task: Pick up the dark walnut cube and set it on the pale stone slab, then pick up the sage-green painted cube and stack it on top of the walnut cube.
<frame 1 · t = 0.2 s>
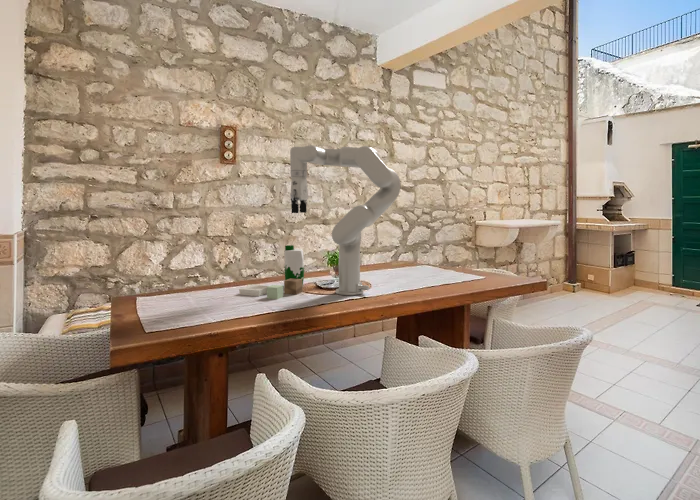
hand: (299, 212, 187), 36 cm above the table, tool pointing down, fingers open, 9 cm apart
milk carton: (294, 286, 198), on the table
sage block: (275, 297, 174), on the table
walnut block: (293, 293, 184), on the table
stone base: (255, 293, 183), on the table
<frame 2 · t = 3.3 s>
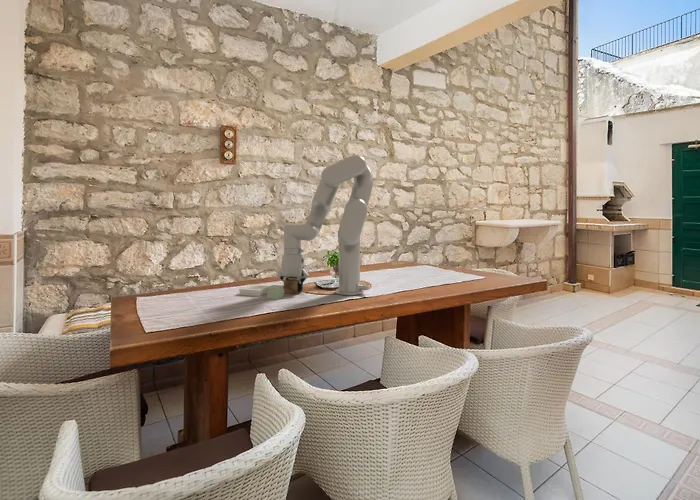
hand: (293, 290, 184), 1 cm above the table, tool pointing down, fingers closed on walnut block, 6 cm apart
walnut block: (293, 292, 184), on the table, touching gripper
everything else where it was.
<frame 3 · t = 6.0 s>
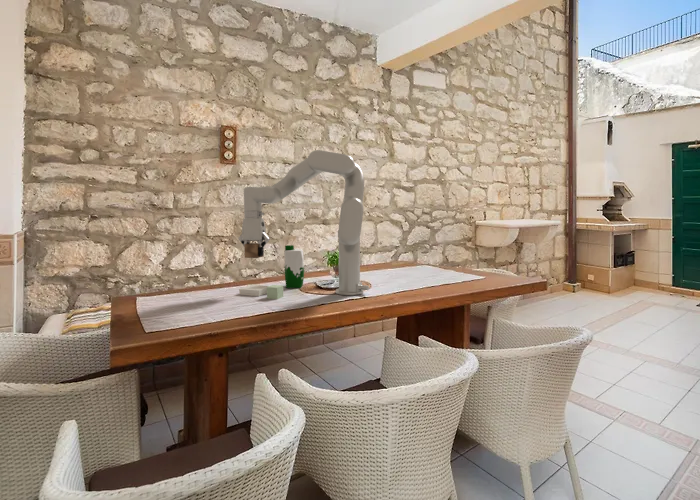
hand: (254, 255, 182), 17 cm above the table, tool pointing down, fingers closed on walnut block, 6 cm apart
walnut block: (254, 257, 182), point 16 cm above the table, touching gripper
everything else where it was.
when the fingers open (4 cm above the table, at t = 8.8 s): walnut block stays where it is, resting on stone base.
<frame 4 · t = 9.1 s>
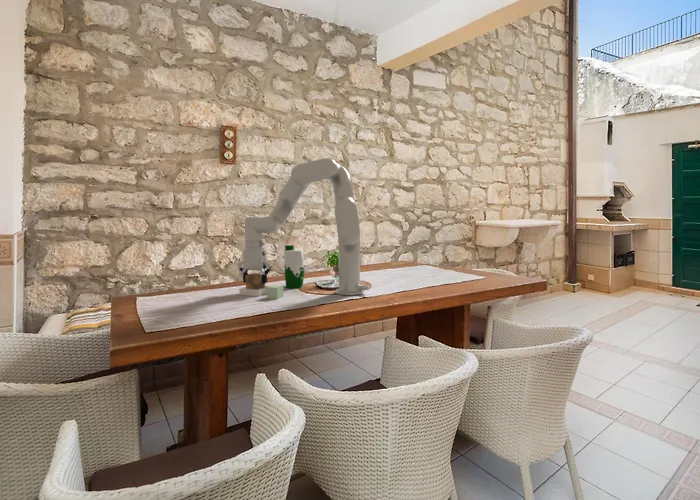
hand: (255, 282, 183), 5 cm above the table, tool pointing down, fingers open, 9 cm apart
walnut block: (255, 287, 183), point 2 cm above the table, touching stone base
everything else where it was.
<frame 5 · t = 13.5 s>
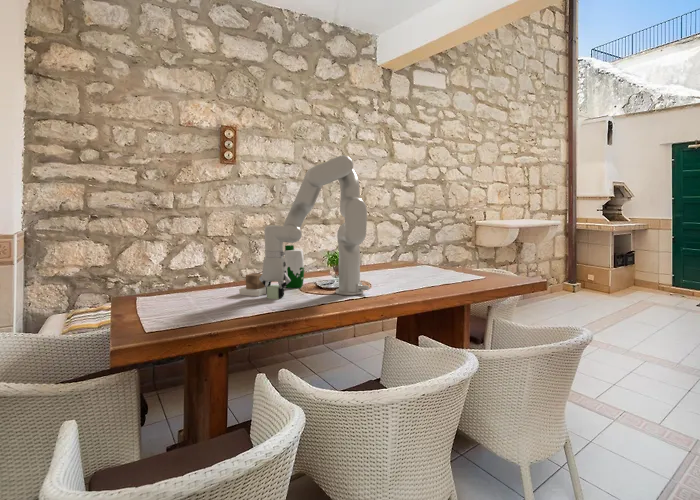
hand: (275, 296, 174), 0 cm above the table, tool pointing down, fingers closed on sage block, 5 cm apart
sage block: (275, 297, 174), on the table, touching gripper
everything else where it was.
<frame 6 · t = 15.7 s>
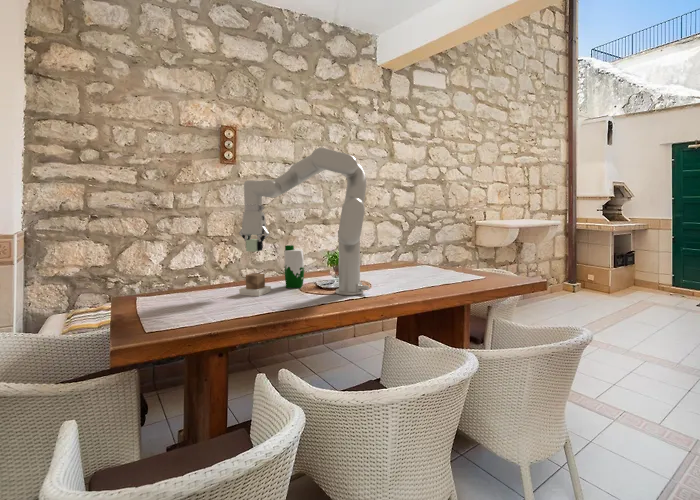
hand: (254, 249, 181), 20 cm above the table, tool pointing down, fingers closed on sage block, 5 cm apart
sage block: (254, 250, 181), point 19 cm above the table, touching gripper
everything else where it was.
when the fingers open (10 cm above the table, at t = 18.3 s): sage block drops 1 cm, resting on walnut block.
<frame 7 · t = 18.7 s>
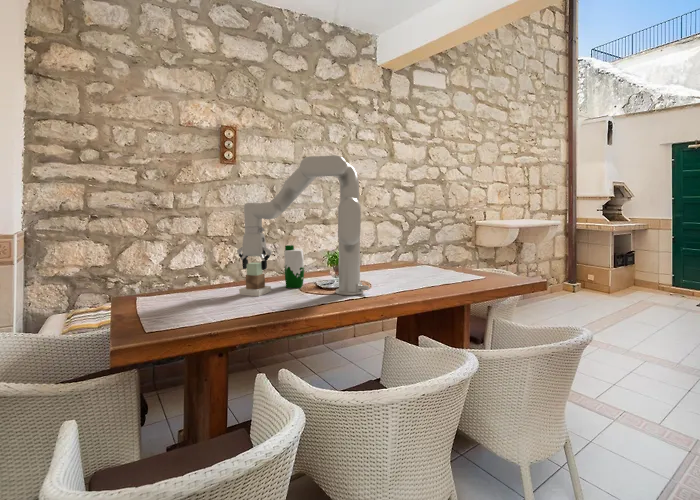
hand: (254, 269, 182), 11 cm above the table, tool pointing down, fingers open, 9 cm apart
sage block: (254, 274, 182), point 8 cm above the table, touching walnut block
walnut block: (255, 287, 183), point 2 cm above the table, touching sage block, stone base
everything else where it was.
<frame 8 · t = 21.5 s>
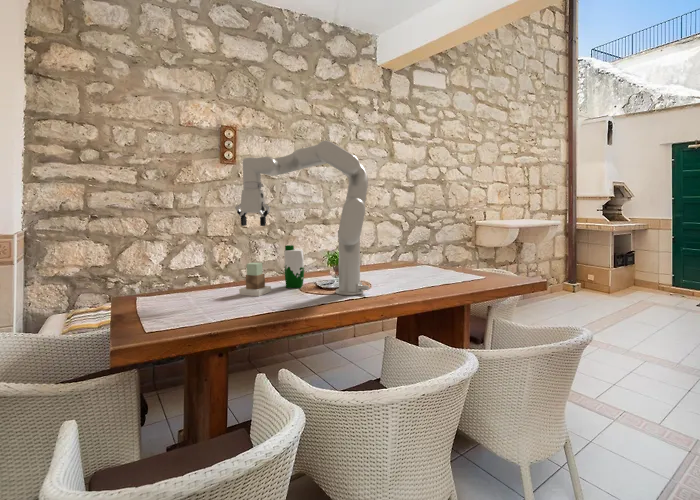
hand: (253, 225, 180), 30 cm above the table, tool pointing down, fingers open, 9 cm apart
nothing on the table moved.
at the end: walnut block 0.1 cm off-centre on the stone base, point 2.5 cm above the stone base's base; sage block 0.1 cm off-centre on the walnut block, point 6.0 cm above the walnut block's base; sage block tilted 0° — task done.
